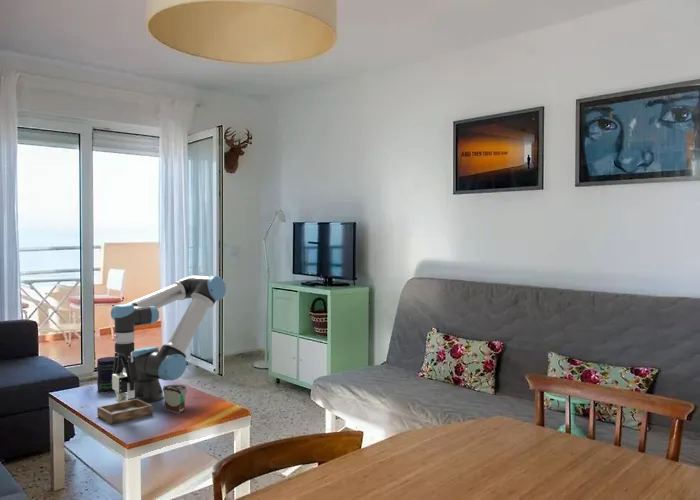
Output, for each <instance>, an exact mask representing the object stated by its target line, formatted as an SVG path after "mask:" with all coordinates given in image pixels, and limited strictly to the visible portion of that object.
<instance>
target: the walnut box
mask: <svg viewBox="0 0 700 500" xmlns="http://www.w3.org/2000/svg"><path fill="white" fill-rule="evenodd" d="M153 406H154V405H153V404H150V403H149V402H144V401H142V400H139V399H133V400H128V399H127V401H126V402H125V401H124V402H120V403H119V402H115V403H111V404H105V405H99V406H97V409H96V410H97V414H96V416H98V417H97V418H99V417H100V418H99V419H101V420H102V419H103V421H104V420H105V421H104V422H106V423H108V424H110V425H117V424H120V423H125V422H128V421H133V420H137V419H141V418H142V419H143V418H145V417H150V416H153V415H154V413H153V412H154V411H153V410H154V409H153Z"/></svg>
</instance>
